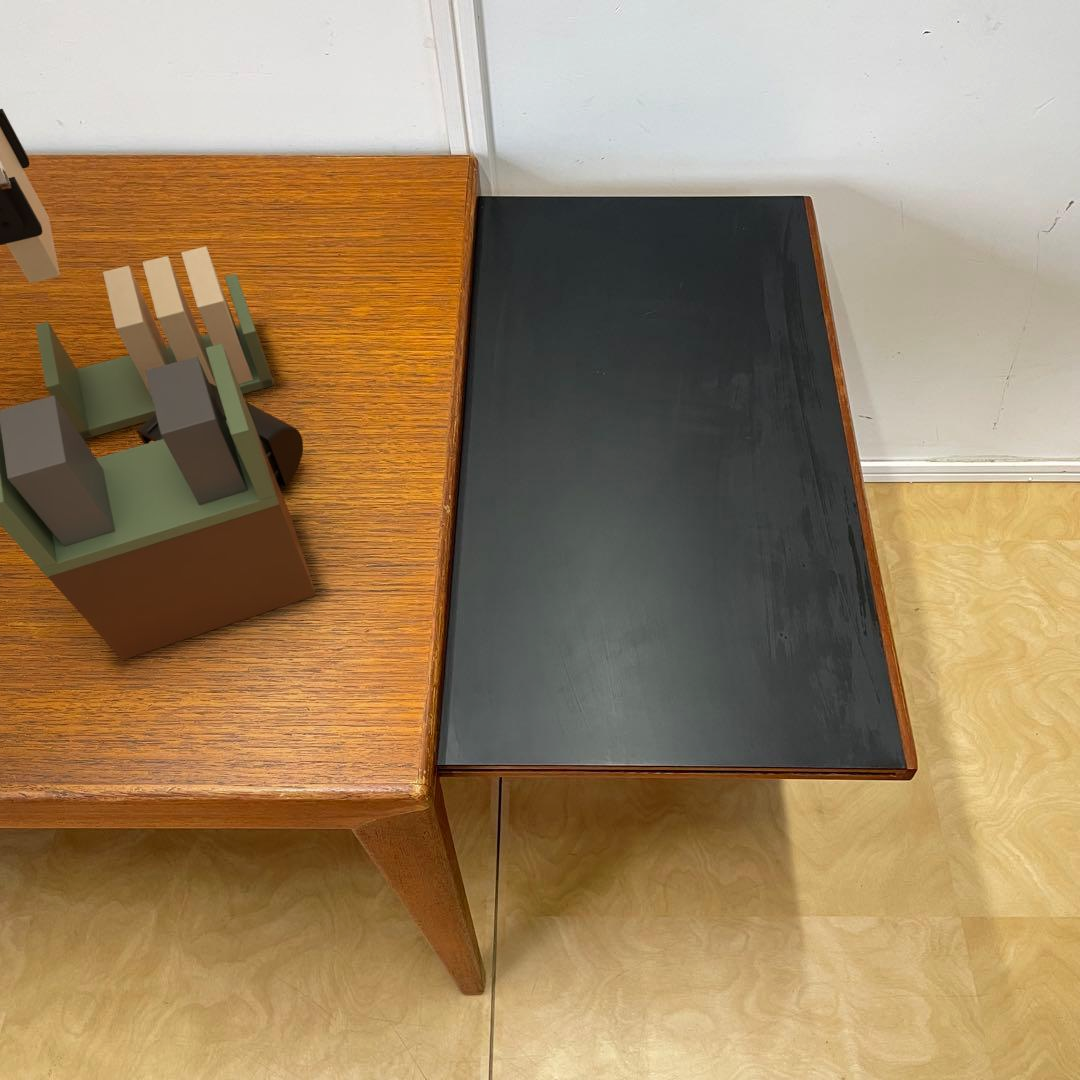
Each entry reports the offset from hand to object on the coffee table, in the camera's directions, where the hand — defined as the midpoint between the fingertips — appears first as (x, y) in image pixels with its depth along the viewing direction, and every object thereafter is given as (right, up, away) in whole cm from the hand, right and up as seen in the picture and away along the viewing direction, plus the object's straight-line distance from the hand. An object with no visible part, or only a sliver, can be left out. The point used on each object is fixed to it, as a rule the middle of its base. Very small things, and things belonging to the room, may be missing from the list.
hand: (11, 201), depth 61 cm
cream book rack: (+4, -9, +18) cm, 20 cm away
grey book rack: (+11, -26, +7) cm, 29 cm away
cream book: (0, -2, +4) cm, 4 cm away
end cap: (+11, -17, +13) cm, 24 cm away
